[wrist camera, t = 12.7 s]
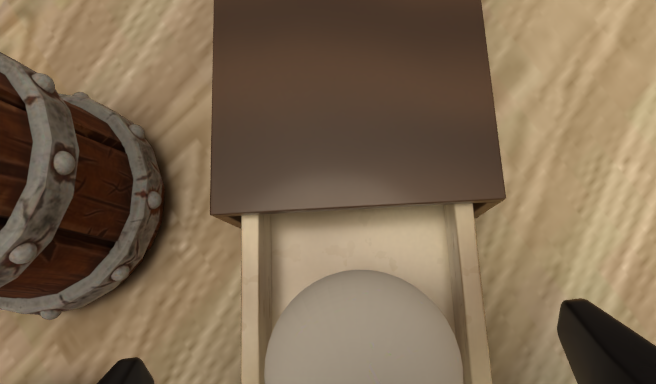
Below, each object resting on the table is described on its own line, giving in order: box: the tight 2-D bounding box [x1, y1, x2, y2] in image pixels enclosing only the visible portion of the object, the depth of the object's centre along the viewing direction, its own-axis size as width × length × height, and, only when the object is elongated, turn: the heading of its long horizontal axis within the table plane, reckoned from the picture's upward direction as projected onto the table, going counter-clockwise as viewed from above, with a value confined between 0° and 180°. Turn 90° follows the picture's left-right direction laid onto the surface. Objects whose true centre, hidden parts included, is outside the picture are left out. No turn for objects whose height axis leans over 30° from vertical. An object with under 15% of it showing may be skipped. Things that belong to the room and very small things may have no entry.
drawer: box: [241, 203, 492, 384], centre depth 19 cm, size 20×11×4 cm, turn 2°
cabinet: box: [210, 0, 506, 228], centre depth 23 cm, size 17×12×5 cm
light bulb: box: [264, 270, 463, 384], centre depth 15 cm, size 6×6×10 cm
